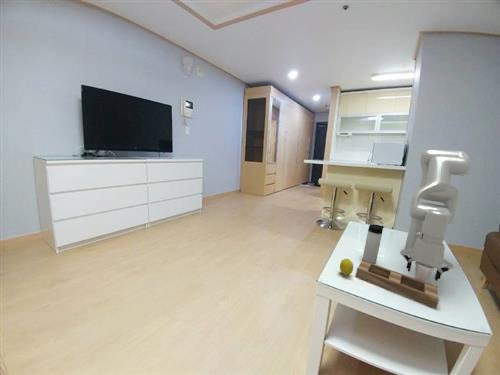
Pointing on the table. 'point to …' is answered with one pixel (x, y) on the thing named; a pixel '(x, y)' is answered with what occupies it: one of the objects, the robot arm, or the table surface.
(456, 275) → the table surface
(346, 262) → the lemon
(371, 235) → the travel mug
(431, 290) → the wooden frame
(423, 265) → the smoothie
